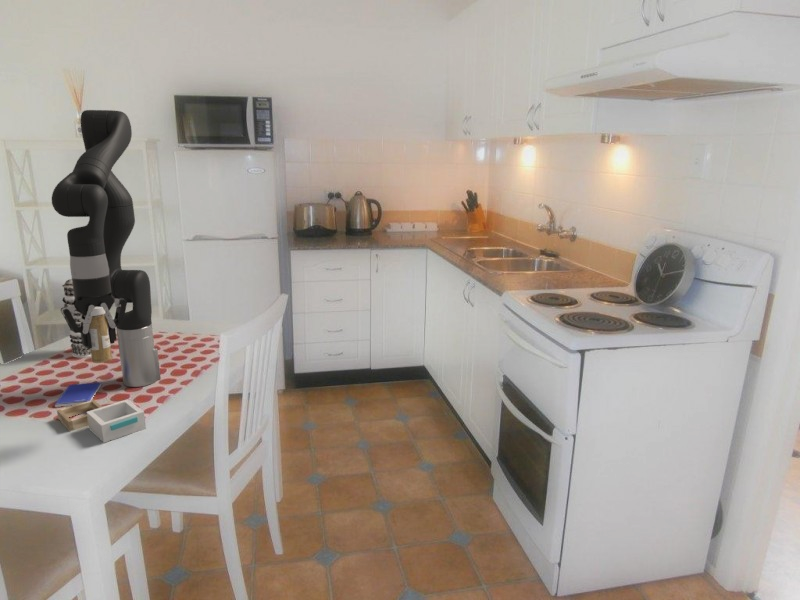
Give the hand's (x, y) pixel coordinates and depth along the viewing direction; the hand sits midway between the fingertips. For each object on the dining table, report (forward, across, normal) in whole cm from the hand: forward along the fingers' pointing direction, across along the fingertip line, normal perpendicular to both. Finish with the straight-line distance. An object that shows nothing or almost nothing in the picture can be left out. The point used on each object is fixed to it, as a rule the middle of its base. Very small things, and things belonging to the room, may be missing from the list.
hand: (100, 344), depth 129 cm
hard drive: (+22, 0, -25) cm, 34 cm away
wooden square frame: (+21, +3, -10) cm, 24 cm away
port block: (+22, -1, +1) cm, 22 cm away
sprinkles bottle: (+4, 0, 0) cm, 4 cm away
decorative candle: (+21, -13, -58) cm, 64 cm away
